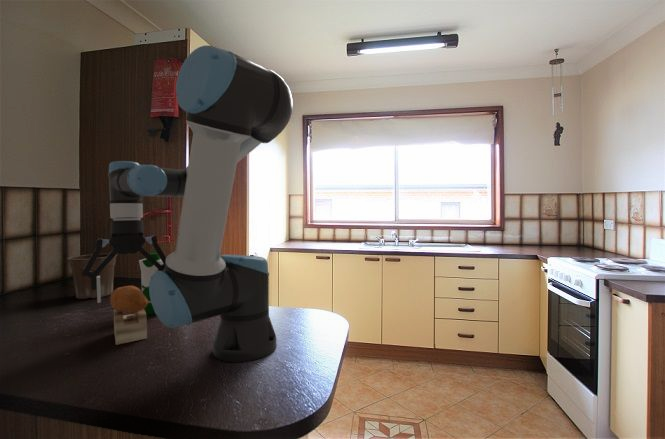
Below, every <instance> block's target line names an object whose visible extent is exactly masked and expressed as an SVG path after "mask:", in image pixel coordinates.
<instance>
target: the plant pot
mask: <svg viewBox="0 0 665 439" xmlns="http://www.w3.org/2000/svg"><path fill="white" fill-rule="evenodd" d="M92 254H93V253H91V254H83V255H76V256H70V257H68V258H67V261H69V267H70V269H71V273H72V279H73V284H74V285H73V286H74V291H75V293H74V294H75V298H76V299H78V300H88V299H89V298H91V299H97V290H92V288H91V278H90V277H88V276H83V275H82V272H83V270H84V268H85V266H86V265H87V263H88V261H89V259H90V257H91V256H92ZM108 254H109V253H99V255H98V257H97V258H96V260H95V262H94V264H93V266H92V267H91V269H90V271H92V272H93V271H94V270H95V269H96V267H97V266H98V265H99V264H100V263H101V262H102V261H103V260H104V259H105V258H106V257H107V256H108ZM117 256H118V253H117V254H116V256H114V257H113V259H112V260H111V261H110V262H109V263H108V264H107V265H106V266H105V267H104V268H103V270H102V271H101V272H100V273H99V274H98V275H97V276H100V288H101V298H105V297H107V296H111V294H112V292H113V291H114V280H115V279H114V278H115V277H114V276H115V266H116V263H117V262H116V259H117Z"/></svg>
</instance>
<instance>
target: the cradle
mask: <svg viewBox="0 0 665 439" xmlns="http://www.w3.org/2000/svg"><path fill="white" fill-rule="evenodd" d="M147 317H148V316H147V314H146V312H145V310H144V309H143V310H141V311H139V312H135V313H129V314H125V315H124V314H123V312H121V311H116V310H115V309H113V329H114V330H113V332H114V340H115V345H116V346H117V345H122V344H127V343H131V342H135V341H140V340H146V339H148V329H147V328H148V326H147V325H148V323H147V322H148V320H147Z"/></svg>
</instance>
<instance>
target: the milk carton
mask: <svg viewBox="0 0 665 439" xmlns="http://www.w3.org/2000/svg"><path fill="white" fill-rule="evenodd" d="M148 253H149V254H150V255H151V256H152V257H153V258H154V259H155V260H156V261H157V262H158V263H159V264H160V265H162V264H163V262H162V260H161V259H160V257H159V256H158V254H157V252H148ZM165 257H166V258H167V256H165ZM138 263H139V268H140V272H141V278H140V280H141V292H142V293H143V294H144V295H145V297H146V298H147V300H148V304H147V306H146V307H145V308H144V310H145V312H146V315H156V313H155V311H154V309H153V306H152V303H151V299H150V293H149V282H150V278H151V276H152V275H153V274H154V273H155V270H158V268H157V267H156V266H155V265H153V264H152V263H151V262H150V261H149V260H148V259H147V258H146V257H145V258H143V259H139V260H138Z"/></svg>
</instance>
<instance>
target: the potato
mask: <svg viewBox="0 0 665 439" xmlns="http://www.w3.org/2000/svg"><path fill="white" fill-rule="evenodd" d="M109 296H110V298H109V302H110V306H111V307H112V308H113V310H116V311H121V312H122V313H125V314H135V312H139V311H141V310H143V309H144V308H145V307H146V306H147V304H148V300H147V298H146V297H145V295H144V294H143V293H142V290H141V289H140V288H139V287H137V286H135V285H125V286H120V287H117V288H116V289H113V292H112V293H111V294H110V295H109Z"/></svg>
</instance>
